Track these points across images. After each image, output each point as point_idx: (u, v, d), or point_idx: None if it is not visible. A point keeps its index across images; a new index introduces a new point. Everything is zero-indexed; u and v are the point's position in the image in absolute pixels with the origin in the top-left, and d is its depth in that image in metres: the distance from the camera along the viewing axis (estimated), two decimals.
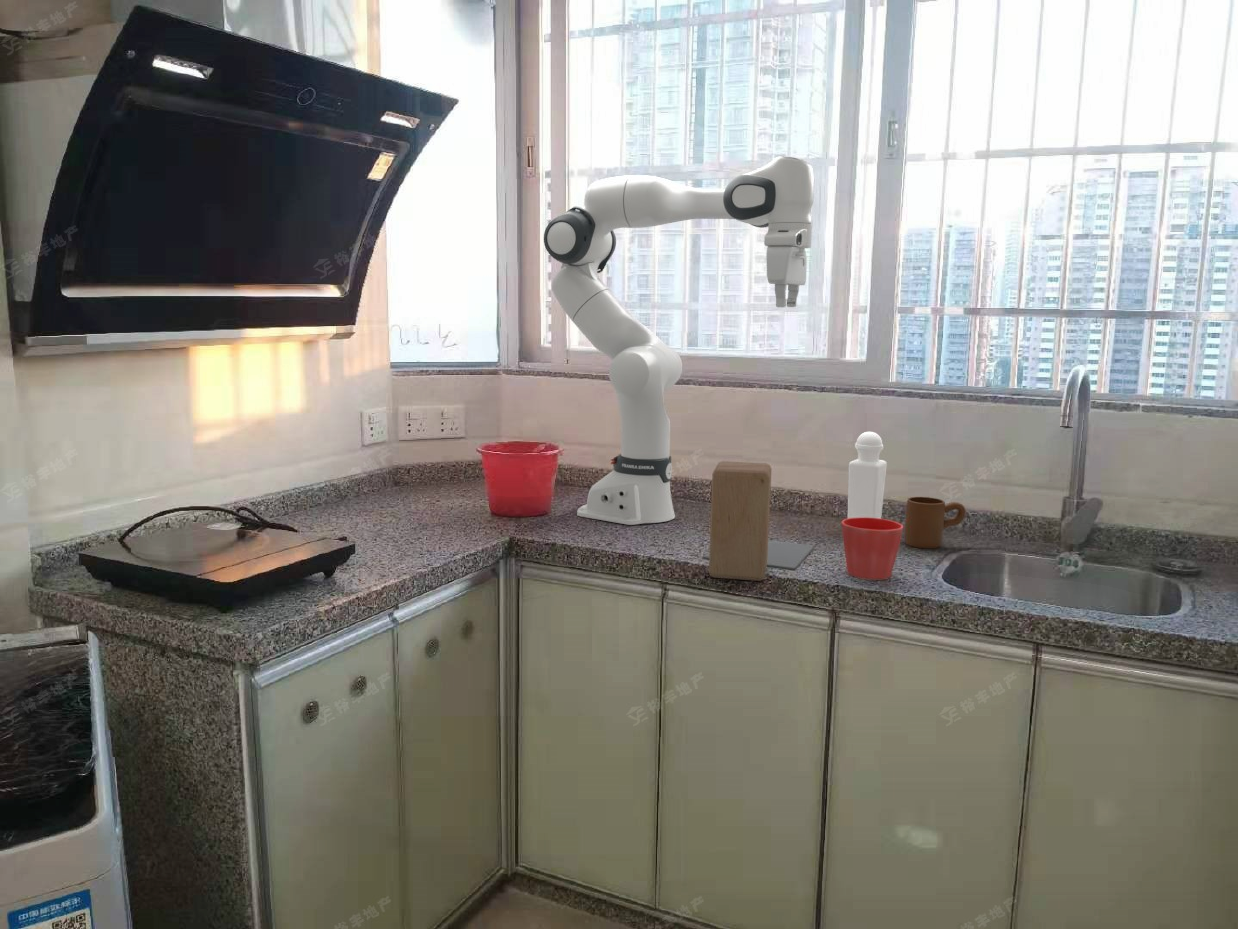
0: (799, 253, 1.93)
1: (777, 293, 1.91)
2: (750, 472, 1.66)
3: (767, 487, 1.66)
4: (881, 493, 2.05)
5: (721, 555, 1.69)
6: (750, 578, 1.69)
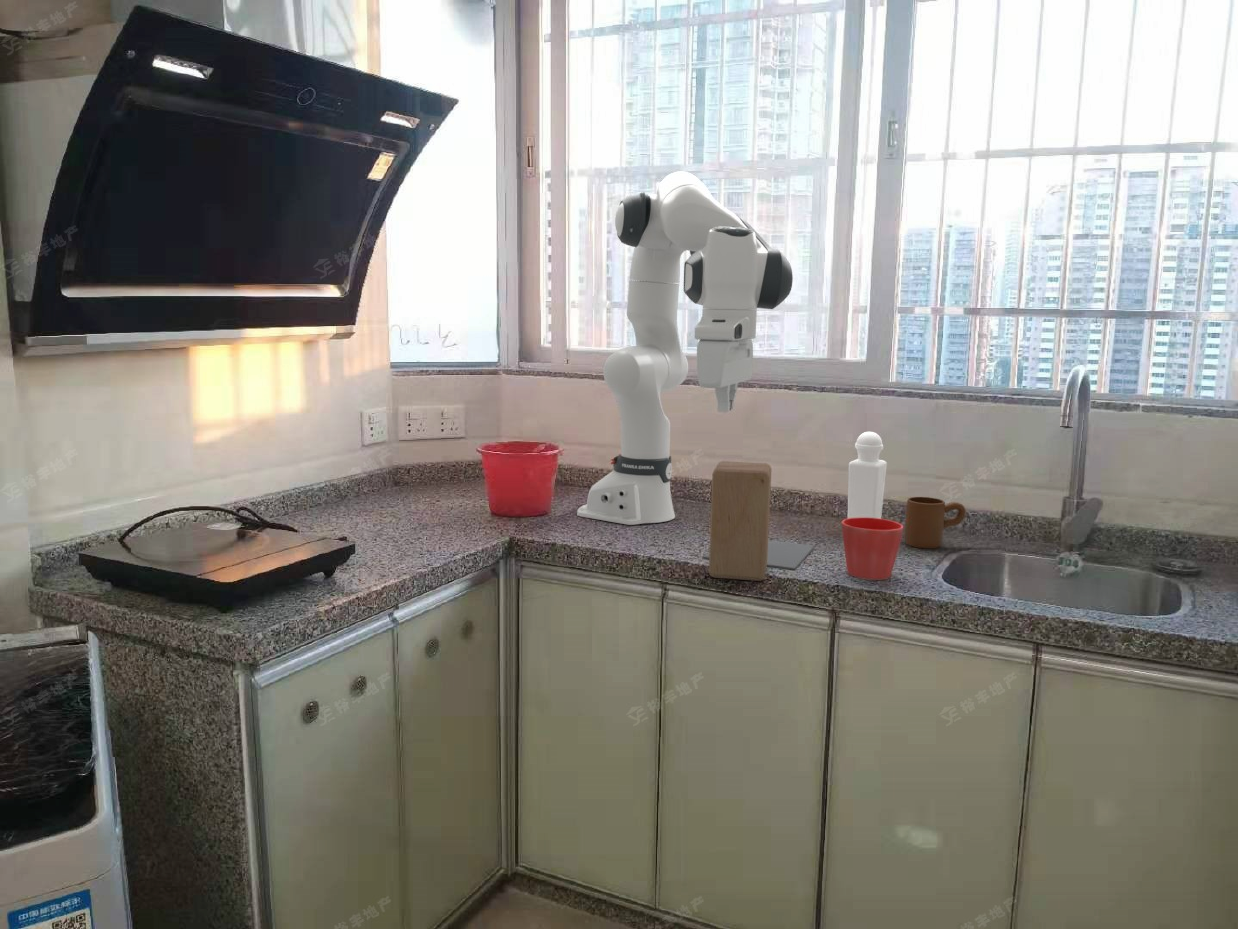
0: (740, 346, 1.53)
1: (718, 395, 1.55)
2: (750, 472, 1.66)
3: (767, 487, 1.66)
4: (881, 493, 2.05)
5: (721, 555, 1.69)
6: (750, 578, 1.69)
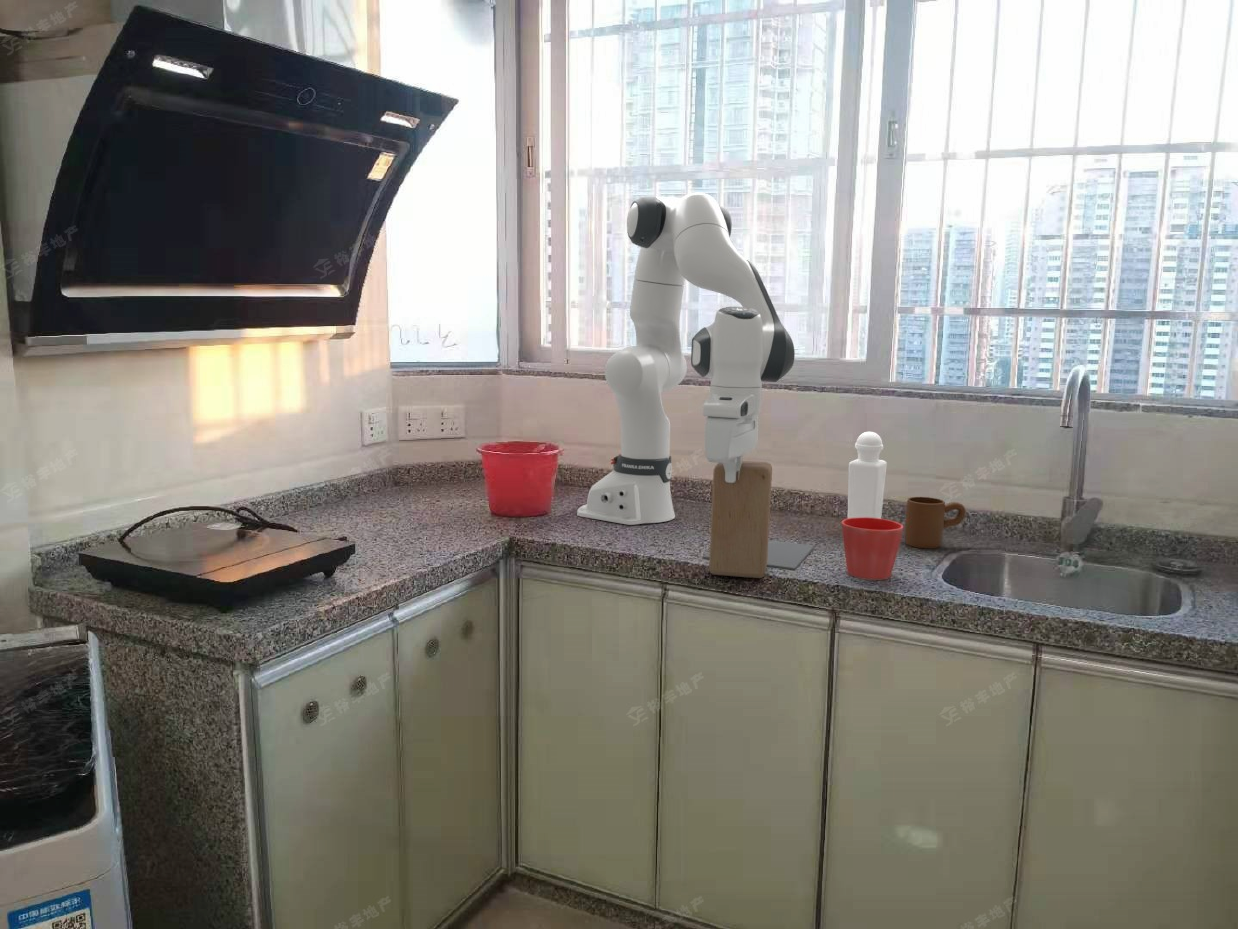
0: (746, 422, 1.61)
1: (726, 466, 1.64)
2: (751, 468, 1.67)
3: (768, 483, 1.67)
4: (881, 493, 2.05)
5: (722, 551, 1.69)
6: (750, 575, 1.69)
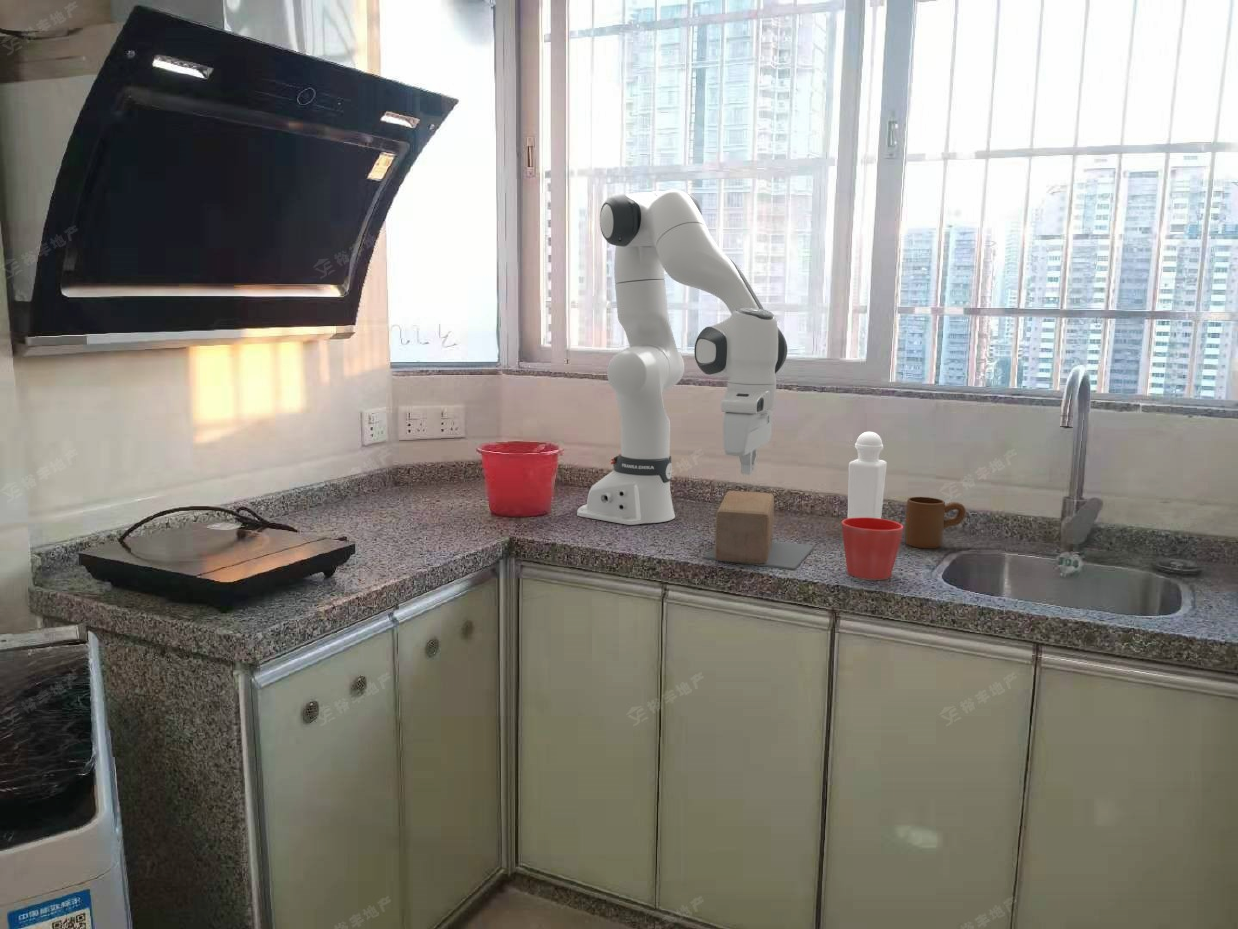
0: (761, 417, 1.70)
1: (742, 459, 1.72)
2: None
3: (772, 497, 1.93)
4: (881, 493, 2.05)
5: (730, 505, 1.82)
6: (756, 512, 1.77)
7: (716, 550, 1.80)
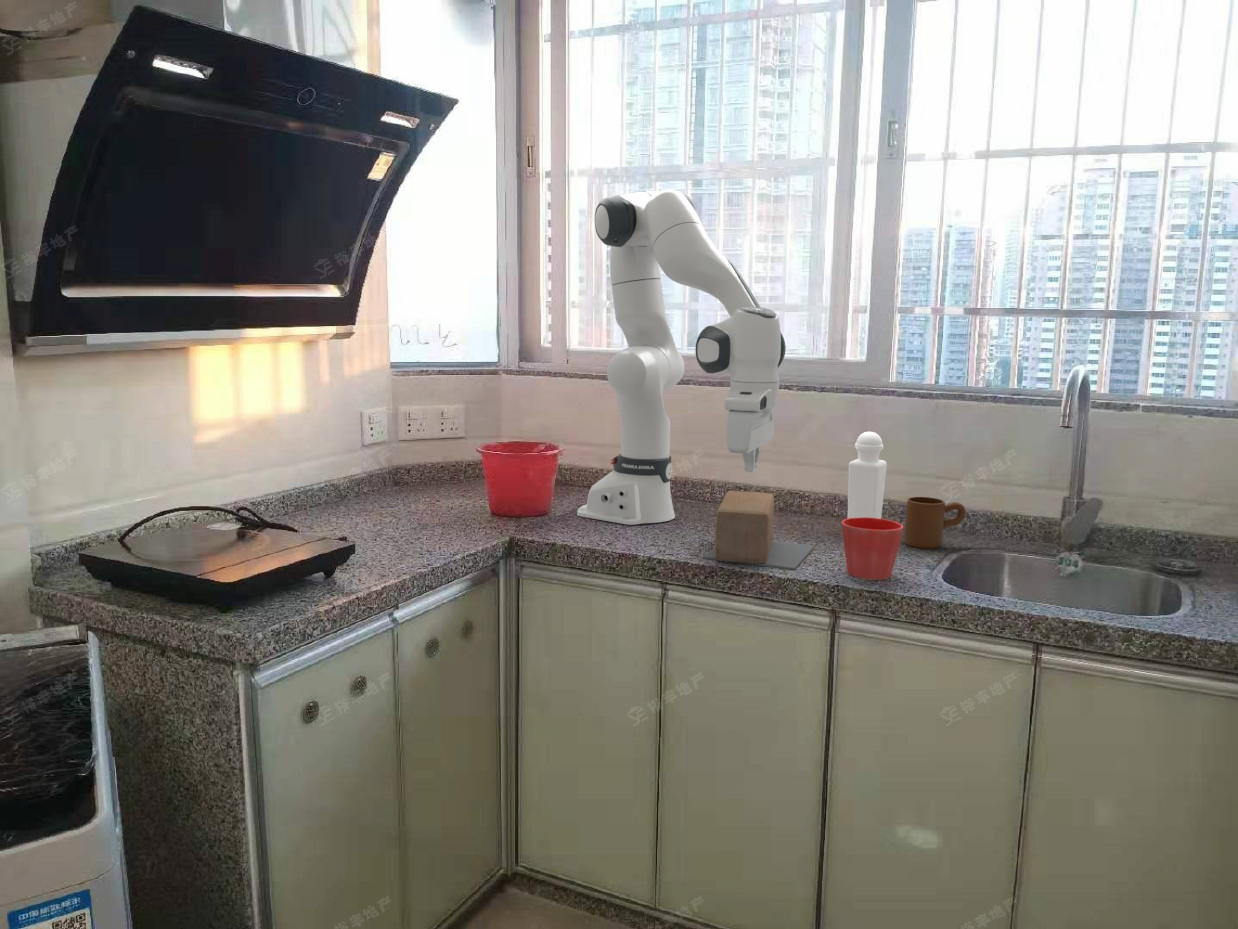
0: (764, 414, 1.72)
1: (745, 457, 1.74)
2: None
3: (772, 497, 1.93)
4: (881, 493, 2.05)
5: (730, 505, 1.82)
6: (756, 512, 1.77)
7: (716, 550, 1.80)
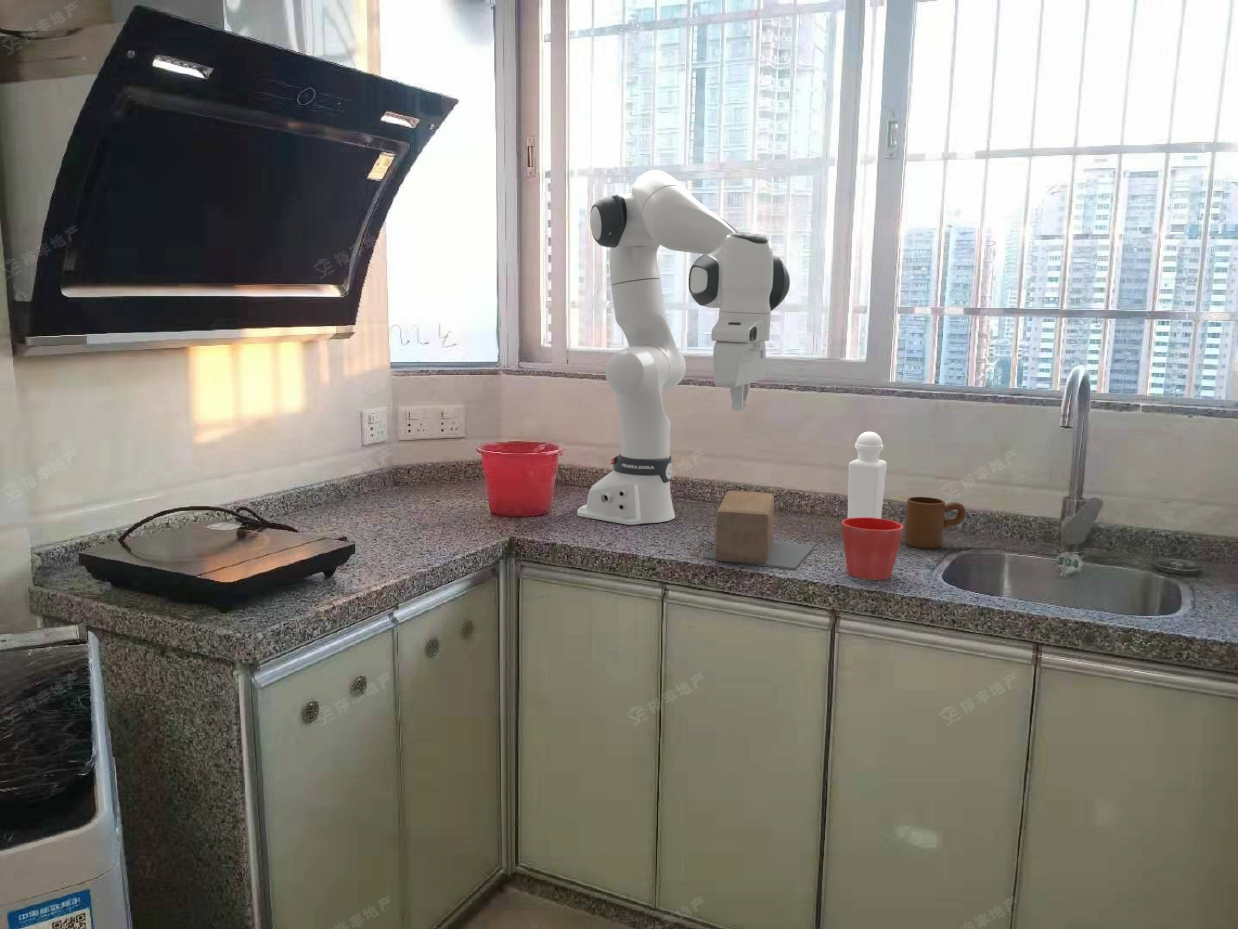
0: (754, 348, 1.61)
1: (733, 394, 1.63)
2: None
3: (772, 497, 1.93)
4: (881, 493, 2.05)
5: (730, 505, 1.82)
6: (756, 512, 1.77)
7: (716, 550, 1.80)
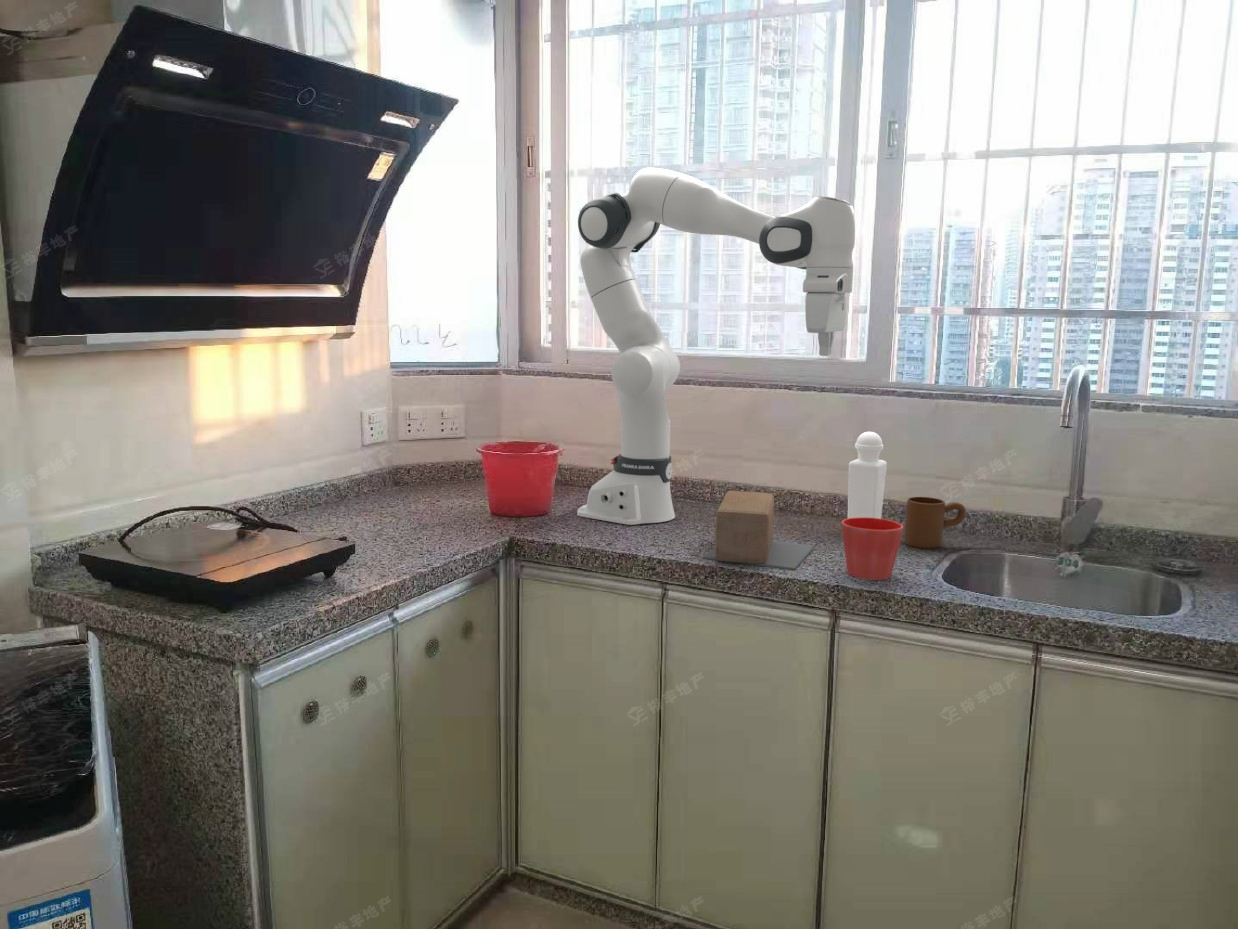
0: (839, 299, 1.81)
1: (820, 341, 1.83)
2: None
3: (772, 497, 1.93)
4: (881, 493, 2.05)
5: (730, 505, 1.82)
6: (756, 512, 1.77)
7: (716, 550, 1.80)
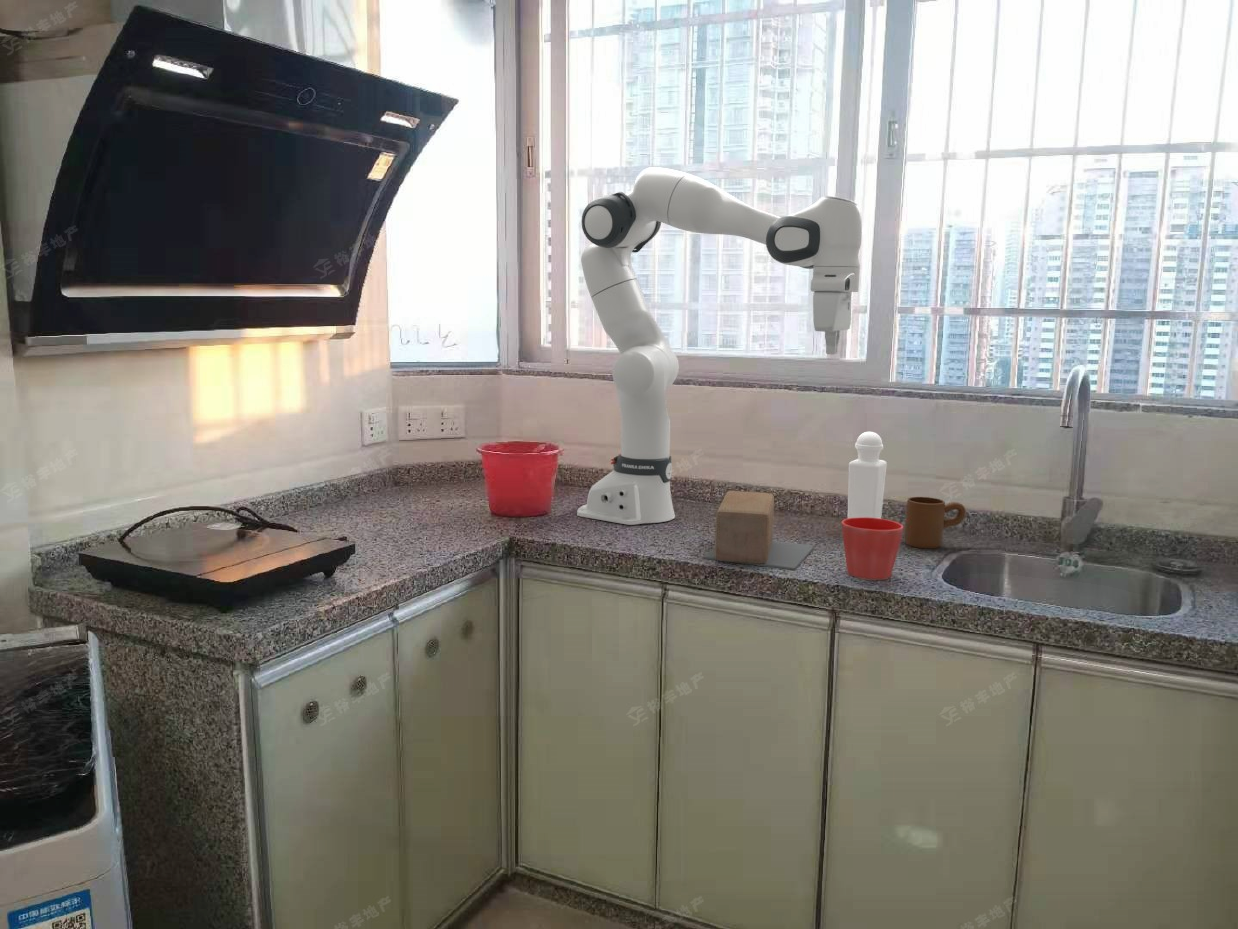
0: (846, 298, 1.83)
1: (827, 339, 1.85)
2: None
3: (772, 497, 1.93)
4: (881, 493, 2.05)
5: (730, 505, 1.82)
6: (756, 512, 1.77)
7: (716, 550, 1.80)
